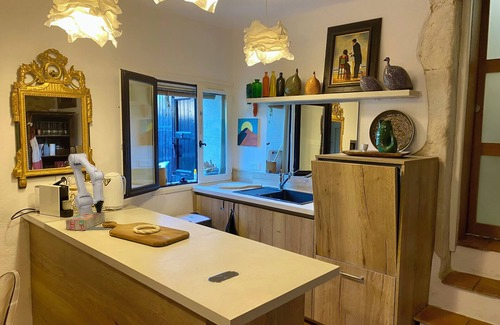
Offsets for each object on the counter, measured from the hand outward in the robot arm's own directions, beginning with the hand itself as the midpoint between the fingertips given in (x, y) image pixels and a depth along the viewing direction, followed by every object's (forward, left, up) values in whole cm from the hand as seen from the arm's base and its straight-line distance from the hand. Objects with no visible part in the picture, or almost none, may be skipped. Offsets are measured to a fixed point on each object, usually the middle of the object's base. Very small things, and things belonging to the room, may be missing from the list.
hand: (99, 212), depth 226 cm
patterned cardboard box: (+2, -2, -4) cm, 5 cm away
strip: (+7, 0, -8) cm, 11 cm away
